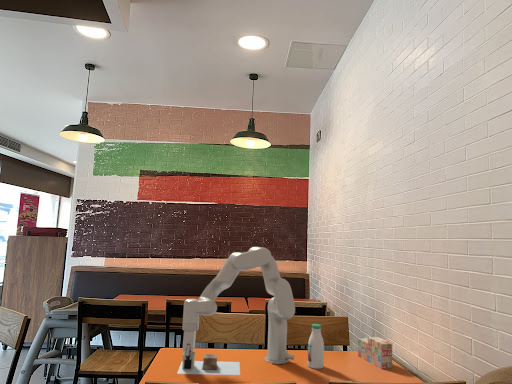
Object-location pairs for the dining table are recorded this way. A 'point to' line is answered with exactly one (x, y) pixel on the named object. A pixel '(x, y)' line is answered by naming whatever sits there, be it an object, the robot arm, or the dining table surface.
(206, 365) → the walnut block
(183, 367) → the sage block
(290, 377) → the dining table surface
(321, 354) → the milk bottle
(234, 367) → the board
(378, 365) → the stack of blocks
